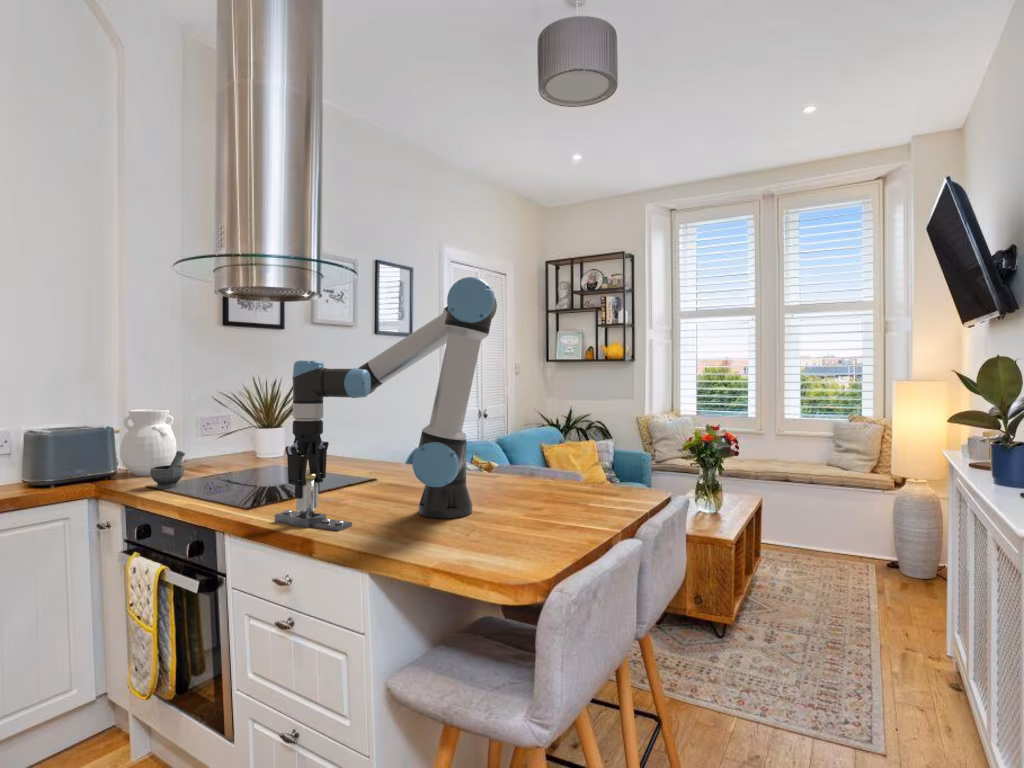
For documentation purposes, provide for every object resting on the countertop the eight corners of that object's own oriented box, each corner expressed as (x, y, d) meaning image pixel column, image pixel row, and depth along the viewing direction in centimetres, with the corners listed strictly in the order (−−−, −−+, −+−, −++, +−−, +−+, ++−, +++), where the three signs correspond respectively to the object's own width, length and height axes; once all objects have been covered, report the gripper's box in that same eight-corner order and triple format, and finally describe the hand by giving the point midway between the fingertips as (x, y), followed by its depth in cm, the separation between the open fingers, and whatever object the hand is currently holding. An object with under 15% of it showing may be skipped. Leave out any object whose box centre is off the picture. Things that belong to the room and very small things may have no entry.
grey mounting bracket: (353, 525, 146) (353, 515, 146) (337, 531, 140) (337, 521, 140) (290, 517, 154) (290, 507, 154) (272, 522, 148) (272, 512, 148)
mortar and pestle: (163, 491, 188) (163, 455, 187) (144, 488, 191) (144, 453, 191) (193, 484, 198) (193, 450, 198) (174, 482, 202) (174, 449, 201)
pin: (319, 522, 149) (319, 473, 149) (307, 526, 145) (307, 476, 145) (306, 520, 151) (306, 472, 151) (294, 524, 147) (294, 474, 146)
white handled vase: (164, 468, 233) (163, 407, 232) (185, 472, 222) (185, 409, 221) (111, 474, 217) (111, 410, 217) (132, 480, 207) (131, 412, 206)
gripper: (319, 416, 156) (318, 500, 157) (272, 421, 141) (271, 514, 142) (340, 418, 154) (340, 503, 154) (295, 422, 138) (294, 517, 139)
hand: (307, 508), depth 148 cm, fingers closed on pin, 4 cm apart
